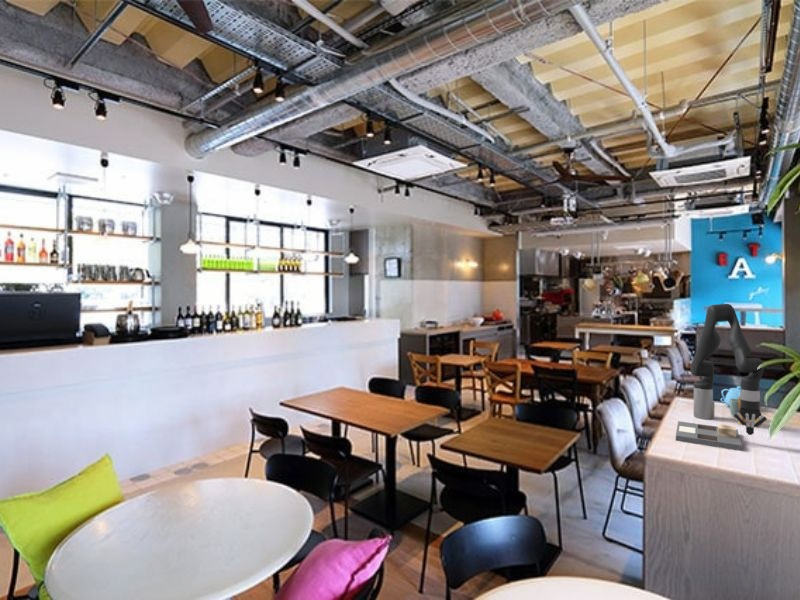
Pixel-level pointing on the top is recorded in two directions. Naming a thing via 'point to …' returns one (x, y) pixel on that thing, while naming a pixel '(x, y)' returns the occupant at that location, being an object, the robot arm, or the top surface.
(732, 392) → the decorative pot
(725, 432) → the maple block
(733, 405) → the cup
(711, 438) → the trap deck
